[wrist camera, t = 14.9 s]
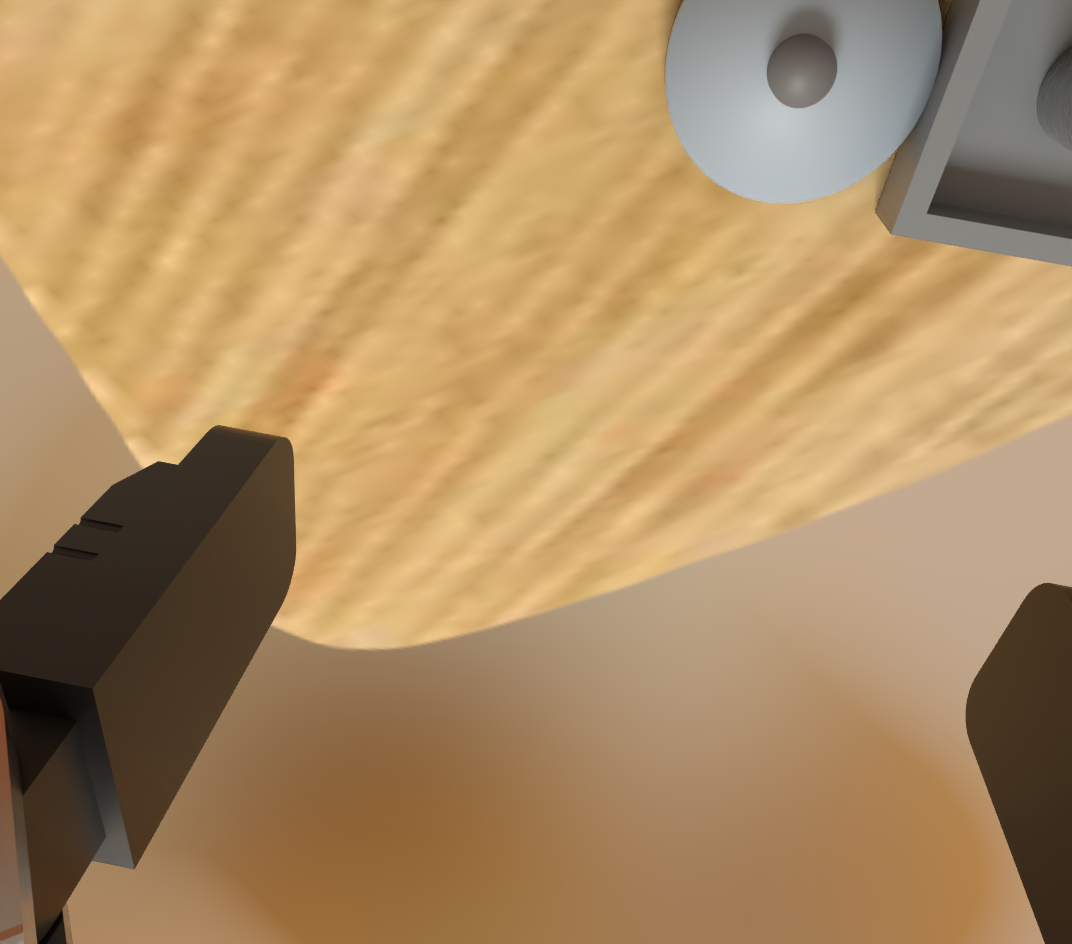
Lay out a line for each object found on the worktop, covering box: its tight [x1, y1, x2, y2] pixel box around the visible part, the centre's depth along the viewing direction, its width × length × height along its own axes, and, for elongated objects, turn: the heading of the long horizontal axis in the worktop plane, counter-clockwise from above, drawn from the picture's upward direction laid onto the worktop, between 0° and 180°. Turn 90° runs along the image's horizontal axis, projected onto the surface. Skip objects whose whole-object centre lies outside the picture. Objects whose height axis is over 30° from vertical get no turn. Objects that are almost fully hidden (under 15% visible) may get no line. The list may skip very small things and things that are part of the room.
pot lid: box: [665, 0, 942, 203], centre depth 31 cm, size 10×10×6 cm
